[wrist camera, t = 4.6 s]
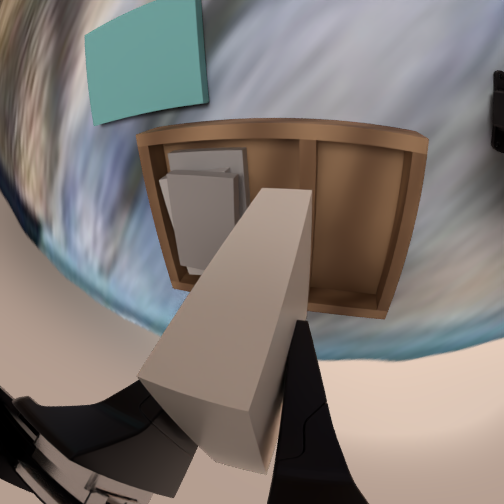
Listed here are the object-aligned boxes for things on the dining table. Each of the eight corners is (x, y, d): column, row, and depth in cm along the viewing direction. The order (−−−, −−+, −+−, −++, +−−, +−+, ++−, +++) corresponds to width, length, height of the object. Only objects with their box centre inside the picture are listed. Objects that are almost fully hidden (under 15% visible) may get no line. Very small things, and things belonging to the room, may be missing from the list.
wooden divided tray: (415, 131, 15) (428, 138, 12) (382, 295, 23) (384, 319, 21) (157, 127, 20) (135, 134, 18) (186, 270, 28) (173, 288, 26)
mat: (200, -10, 12) (194, -13, 11) (209, 102, 18) (203, 103, 17) (91, 35, 15) (84, 35, 15) (101, 123, 21) (93, 126, 20)
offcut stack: (246, 147, 18) (231, 157, 16) (255, 271, 24) (245, 293, 22) (168, 150, 20) (146, 161, 18) (190, 262, 26) (176, 281, 24)
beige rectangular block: (312, 190, 10) (248, 411, 3) (306, 316, 14) (266, 474, 7) (262, 187, 11) (136, 376, 4) (270, 312, 14) (215, 461, 8)
